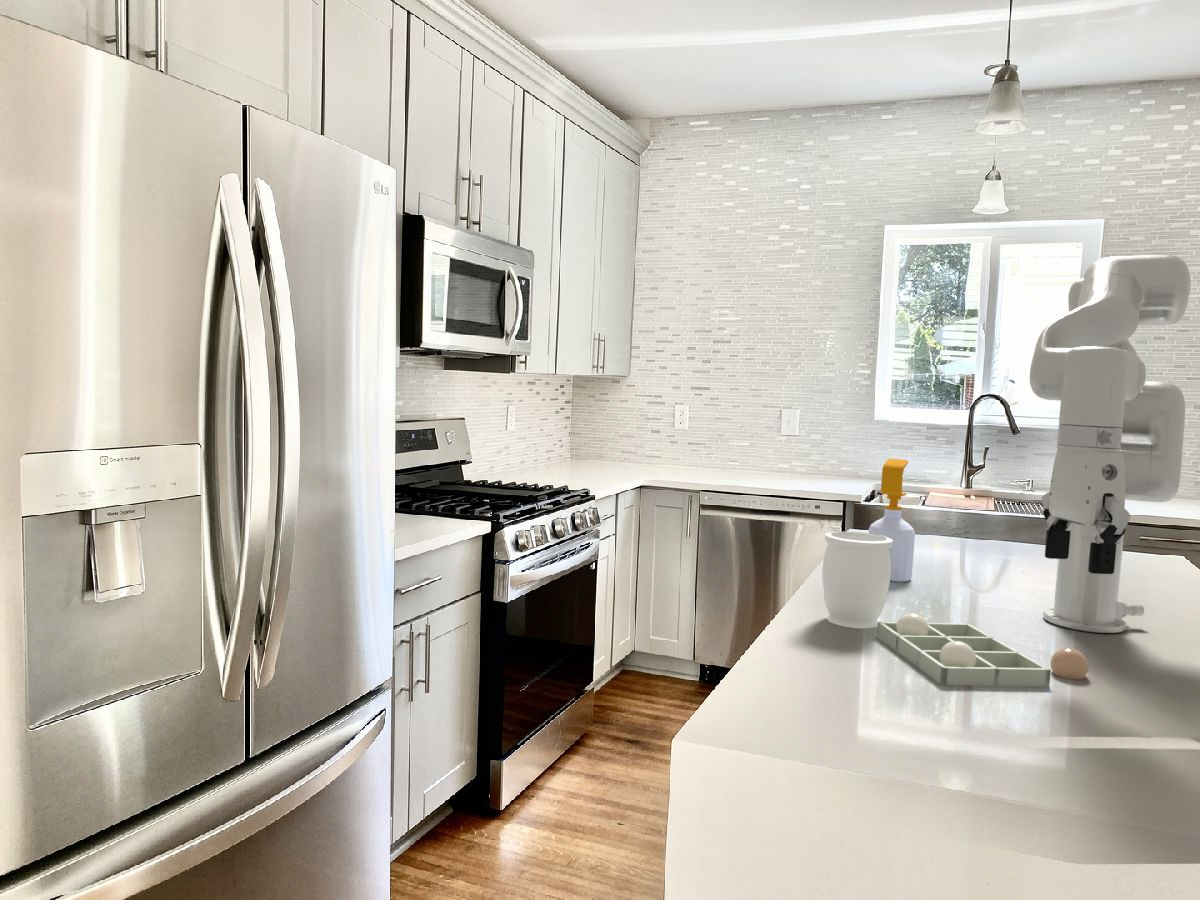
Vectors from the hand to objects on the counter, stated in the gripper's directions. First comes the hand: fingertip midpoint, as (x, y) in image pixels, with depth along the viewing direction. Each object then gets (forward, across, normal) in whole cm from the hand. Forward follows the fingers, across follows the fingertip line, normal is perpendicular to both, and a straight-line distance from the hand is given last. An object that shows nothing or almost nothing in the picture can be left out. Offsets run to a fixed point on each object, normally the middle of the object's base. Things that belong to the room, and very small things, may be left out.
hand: (1077, 565), depth 121 cm
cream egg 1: (+15, +13, +16) cm, 26 cm away
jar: (+16, +25, +21) cm, 37 cm away
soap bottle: (+16, +63, -1) cm, 65 cm away
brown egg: (+16, 0, 0) cm, 16 cm away
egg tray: (+16, +6, +13) cm, 22 cm away
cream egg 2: (+15, -1, +16) cm, 22 cm away
